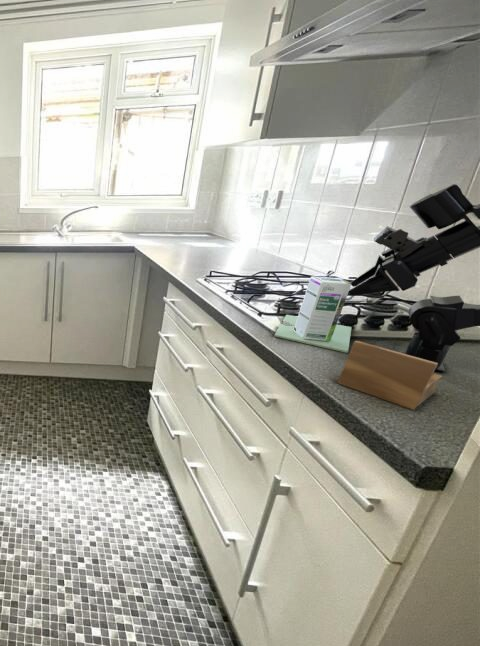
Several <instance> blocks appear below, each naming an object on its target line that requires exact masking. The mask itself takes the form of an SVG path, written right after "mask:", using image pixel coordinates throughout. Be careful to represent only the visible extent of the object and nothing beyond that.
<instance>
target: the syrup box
mask: <svg viewBox="0 0 480 646" xmlns="http://www.w3.org/2000/svg"><path fill="white" fill-rule="evenodd" d="M351 287H352V285H351V282H349V281H348V280H347V279H344V278H340V277H326V276H314V275H313V276H310V278H309V281H308V284H307V287H306V290H305V294H304V296H303V300H302V303H301V306H300V308H299V312H298V315H297V317H298V318H297V321H296V324H295V328H296V331H295V330H294V332H295V333H296V334H297V335H299V336H300V337H301V338H302V339H311V340H320V341H328V342H329V341H331V338H332V335H333V333H334V330H335V327H336V324H337V325H338V321H339V319H340V316H341V315H342V310H343V308H344V305H345V303H346V300H347V297H348V295H349V290H351Z"/></svg>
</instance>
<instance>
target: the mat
mask: <svg viewBox="0 0 480 646" xmlns="http://www.w3.org/2000/svg"><path fill="white" fill-rule="evenodd" d="M297 318H298V315H291V314H286V315H285V316H284V318H283V320H282V321H284V322H285V321H286V322H289V323H290V324H292V325H294V326H285V325H283V324H281V323H280V325H279V327H278V328H277V330H276V331H275V333H274V336H273V337H276V338H279V339H283V340H287V341H292V342H297V343H301V344H306V345H311V346H313V347H314V346H315V347H319V348H323V349H327V350H332V351H337V352H342V353H344V354H345V353H346V354H348V353H349V348H350V341H351V335H352V326H349V325H347V326H346V325H343V324H338V323H337V324H336V327H335V330H334V333H333V335H332V338H331V341H329V342H328V341H320V340H311V339H302V338H301V337H300V336H299V335H297V334H296V333H295V332H294V327H295V324H296V321H297Z"/></svg>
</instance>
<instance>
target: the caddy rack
mask: <svg viewBox="0 0 480 646" xmlns="http://www.w3.org/2000/svg"><path fill="white" fill-rule="evenodd" d="M403 353H404V352H402V353H401V352H399V351H395V350H392V349H390V348H389V349H388V348H385V347H381V346H378V345H374V344H371V343H367V342H363V341H360V340H355V341H354V342H353V344H352V347H351V349H350V351H349V355H348V356H347V359H346V361H345V364H344V367H343V369H342V371H341V373H340V375H339V377H338V378H339V379H338V381H337V384H339V385H342V386H344V387H347V388H350V389H353V390H355V391H359V392H361V393H365V394H367V395H370V396H372V397H376V398H378V399H381V400H384V401H386V402H390V403H393V404H395V405H398V406H401V407H404V408H407V409H409V410H411V411H412V410H413V411H414V410H415V409H416V408H417V407H419V406H420V405H421V404H423V403H424V402H425V401H426V400H427V399H429V398H430V397H432V395H433V394H434V392H435V390H436V388H437V386H438V385H439V382H440V381H441V378H442V375H441V374H438V373H435V371H434V370H435V368H436V366H437V365H438V363H435V362H432V361H428V360H425V359H421V358H417V357H414V356H410V355H407V354H403Z"/></svg>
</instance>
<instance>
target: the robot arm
mask: <svg viewBox="0 0 480 646" xmlns="http://www.w3.org/2000/svg"><path fill="white" fill-rule="evenodd" d="M409 209H411V211H412V212H413V213H414V214H415V216H416V217H417V218H418V219H419V220H420V221H421V222H422V223H423V224H424V226H425V227H426V228H427V229H431V228H432V229H433V228H434V227H435V228H436V229H437V230H442V229H444V230H442V231H439V232H438V233H436V234H434V235H432V236H429V237H424V236H422V237H420V238H418V239H416V240H415V239H414V238H412V237H410V236H409V232H408V231H405V230H403V229H402V228H399V229H397V230H396V229H395V228H392V227H390V226H386V227H384V228H383V229H382V230H381V231H380V232H379V233H378V234H377V235H376V236H375V237H374V238H373V242H374V243H377V244H378V245H380V246H382V245H383V246H384V247H386V248H388V249H386V250H384V251H382V252H381V254H379V255H378V256H377V259H376V261H375V264H374V265H373V266H372V267H370V268H369V269H368V270H366V271H365V272H364V273H362V274H360V275H358V276H357V277H356V278H355V279H353V280H352V281H351V282H350V283H351V287H352V288H350V289H349V292H348V294H349V295H350V296H357V295H366V294H374V293H375V294H377V293H385V292H386V293H387V292H399V291H400V290H401V291H402V292H404V291H407V290H410V289H411V288H415V287H416V285H417V283H418V281H419V279H418V277H420V276H421V274H422V273H424V272H427V271H429V270H431V269H434V268H436V267H438V266H440V267H443V266H446V265H448V264H449V263H448V262H450V261H453V260H454V259H457V258H459V257H461V256H464V255H466V254H468V253H470V252H473V251H475V250H477V249H480V225H478V226H477V225H476V224H475V223H474V222H473V221H472V220H471V219H470V217H469V216H468V214H470V215H471V216H472V217H474V218H476V219H477V220H480V203H478V204H473V203H471V201H470V200H469V199H468V198H467V197H466V196H465V194H463V192H462V188H461V187H460V186H458V184H456V183H453V184H451V185H449V186H447V187H445V188H442V189H441V190H437V191H435V192H434V193H430V194H428V195H426V196H424V197H422V198H420V199H418V200H417V201H414V203H412V204H410V205H409ZM461 220H464V221H461ZM460 221H461V222H460ZM458 222H459V223H458ZM456 223H457V224H456ZM454 224H455V225H454ZM452 225H453V226H452ZM449 226H451V227H449ZM447 227H449V228H447ZM445 228H446V229H445ZM429 297H430V298H425V299H421V300H417V301H416V302H415V303H413V304H412V305H410V307H409V309H408V317H409V322H410V325H411V326H412V328H414V329H415V330H417V331H416V332H414V333H413V336H412V337H411V340H410V342H409V344H408V346H407V348H406V349H405V352H400V353H403V354H407V355H410V356H414V357H417V358H421V359H425V360H428V361H432V362H435V363H438V365H437V366H436V368H435V370H434V372H439V373H444V372H446V369H445V366H444V363H443V362H444V360H445V358H446V356H447V355H448V353H449V351H450V348H451V347H452V346H454V345H455V344H456V343H457V342H459V341H460V340H461V335H460V333H459V332H458V331H459V330H460V331H461V330H464V329H465V330H466V329H470V328H474V327H480V304H474V303H466V302H464V300H463V298H462V297H461V295H450V296H435V295H430V296H429Z"/></svg>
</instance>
